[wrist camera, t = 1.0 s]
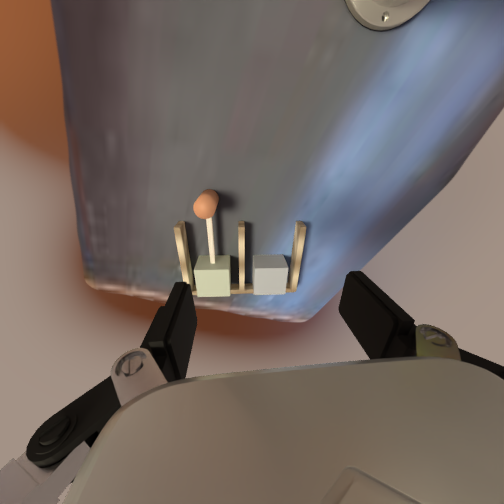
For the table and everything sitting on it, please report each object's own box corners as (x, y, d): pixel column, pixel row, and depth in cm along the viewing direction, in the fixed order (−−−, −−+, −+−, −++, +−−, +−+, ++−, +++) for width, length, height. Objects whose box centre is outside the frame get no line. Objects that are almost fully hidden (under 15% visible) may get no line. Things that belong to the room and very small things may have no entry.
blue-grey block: (252, 254, 39) (254, 268, 34) (282, 254, 39) (288, 267, 35) (252, 279, 42) (253, 294, 37) (280, 278, 42) (285, 294, 38)
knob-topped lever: (190, 189, 32) (181, 197, 27) (227, 189, 32) (225, 198, 27) (202, 280, 41) (196, 300, 36) (231, 279, 41) (229, 299, 36)
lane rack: (178, 221, 34) (173, 227, 32) (301, 220, 36) (306, 227, 33) (189, 288, 42) (186, 298, 39) (291, 286, 43) (295, 295, 40)
